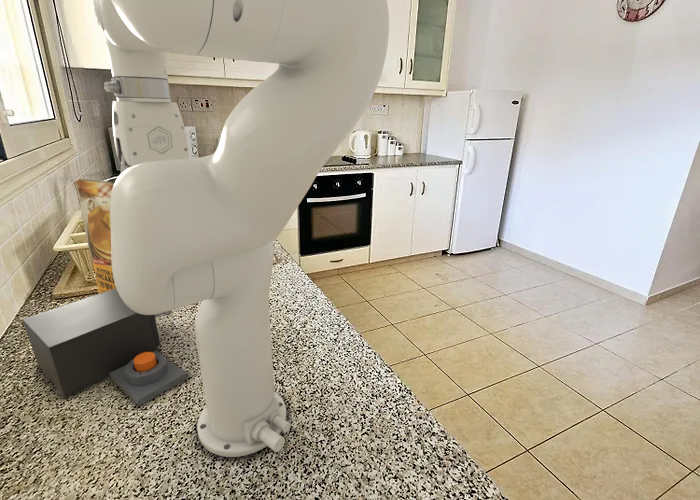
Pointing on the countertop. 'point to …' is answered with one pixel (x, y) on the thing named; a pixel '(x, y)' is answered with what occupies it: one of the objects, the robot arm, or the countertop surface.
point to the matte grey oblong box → (87, 340)
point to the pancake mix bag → (97, 227)
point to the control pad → (147, 379)
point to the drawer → (154, 326)
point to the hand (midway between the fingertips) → (162, 206)
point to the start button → (145, 361)
